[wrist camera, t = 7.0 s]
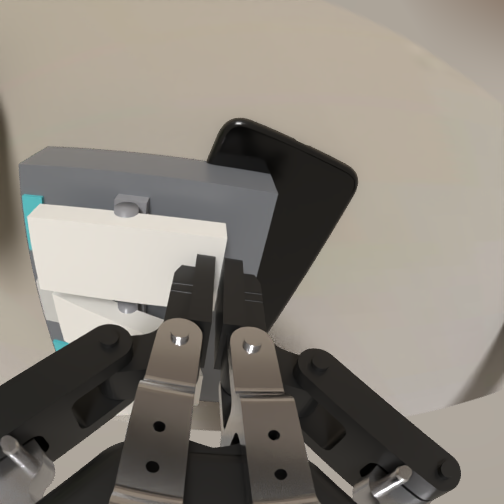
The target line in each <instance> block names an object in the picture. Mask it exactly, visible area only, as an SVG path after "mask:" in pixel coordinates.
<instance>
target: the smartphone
mask: <svg viewBox="0 0 504 504" xmlns="http://www.w3.org/2000/svg"><path fill="white" fill-rule="evenodd" d="M206 162H207V163H208V164H211V165H217V166H224V167H230V168H237V169H243V170H249V171H255V172H261V173H266V174H271V177H272V179H273V182H274V184H275V187H276V190H277V192H278V196H277V200H276V204H275V208H274V212H273V216H272V220H271V223H270V227H269V231H268V235H267V239H266V243H265V246H264V250H263V254H262V258H261V262H260V266H259V269H258V273H257V277H256V278H257V279H258V281H259V282H260V284H261V290H262V298H263V306H264V314H265V322H266V330H267V333H268V332H269V330H270V329H271V327H272V326H273V324H274V323H275V321H276V320H277V318H278V317H279V315H280V314H281V312H282V311H283V309H284V308H285V306H286V305H287V303H288V301H289V300H290V298H291V297H292V295H293V294H294V292H295V291H296V289H297V287H298V286H299V284H300V283H301V281H302V280H303V278H304V276H305V275H306V273H307V272H308V270H309V269H310V267H311V265H312V264H313V262H314V261H315V259H316V257H317V256H318V254H319V252H320V251H321V249H322V248H323V246H324V244H325V243H326V241H327V239H328V238H329V236H330V234H331V233H332V231H333V229H334V228H335V226H336V224H337V223H338V221H339V219H340V218H341V216H342V214H343V213H344V211H345V209H346V208H347V206H348V204H349V202H350V201H351V199H352V197H353V196H354V194H355V192H356V189H357V186H358V177H357V174H356V172H355V171H354V170H353V169H352V168H351V167H350V166H348V165H347V164H345V163H343V162H341V161H339V160H337V159H335V158H333V157H331V156H329V155H327V154H325V153H323V152H321V151H319V150H317V149H315V148H313V147H311V146H308V145H305V144H302V143H300V142H298V141H296V140H295V139H294V138H292V137H289V136H287V135H285V134H283V133H280V132H278V131H276V130H274V129H271V128H269V127H267V126H264V125H262V124H259V123H257V122H254V121H252V120H249V119H245V118H234V119H231V120H229V121H228V122H226V123H225V124H224V125H223V126H222V128H221V129H220V131H219V133H218V135H217V137H216V139H215V142H214V144H213V147H212V149H211V151H210V154H209V156H208V159H207V161H206Z"/></svg>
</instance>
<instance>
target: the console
mask: <svg viewBox="0 0 504 504" xmlns="http://www.w3.org/2000/svg"><path fill="white" fill-rule="evenodd" d="M19 178H20V190H21V200H22V208H23V216H24V224H25V230H26V237H27V242H28V248H29V254H30V259H31V264H32V268H33V273H34V278H35V282H36V286H37V290H38V294H39V298H40V302H41V306H42V309H43V313H44V316H45V320H46V323H47V327H48V330H49V333H50V336H51V339H52V342H53V345H54V348H55V351H58V350H59V349H61V348H63V347H64V346H66V345H68V344H69V343H67V342H65V341H64V338H63V335H62V331H61V328H60V324H59V320H58V316H57V312H56V308H55V304H54V300H53V295H52V293H53V292H54V291H49V290H43V289H40V285H39V281H38V276H37V272H36V267H35V262H34V257H33V251H32V246H31V240H30V233H29V227H28V219H27V216H28V215H29V214H30V213H31V212H32V211H33V210H34V209H35V208H36V207H37V206H38V205H39V204H49V205H60V206H71V207H82V208H92V209H102V210H112V211H114V206H115V205H116V204H118V203H121V202H132V203H135V204H137V205H138V206H139V213H141V214H150V215H160V216H169V217H177V218H186V219H195V220H203V221H211V222H220V223H226V230H227V243H226V248H225V253H224V258H230V259H237V260H243V272H244V274H252V275H255V276H256V277H257V273H258V269H259V266H260V262H261V258H262V254H263V250H264V246H265V243H266V239H267V235H268V231H269V227H270V223H271V220H272V216H273V212H274V208H275V204H276V200H277V196H278V192H277V190H276V187H275V184H274V182H273V179H272V177H271V174H266V173H261V172H255V171H249V170H243V169H237V168H230V167H224V166H217V165H211V164H208V163H207V162H206V161H201V160H194V159H187V158H179V157H171V156H163V155H154V154H145V153H135V152H125V151H113V150H101V149H87V148H70V147H49V146H48V147H46V148H44V149H43V150H41V151H39V152H37V153H36V154H34V155H32V156H31V157H29V158H28V159H26V160H24V161H23V162H21V163H20V164H19ZM216 298H217V297H216ZM113 301H115V302H118V301H116V300H113ZM166 308H167V307H166V306H157V305H148V304H139V303H138V311H141V312H144V313H147V314H149V315H152V316H155V317H158V318H160V319H163V320H164V318H165V313H166ZM215 315H216V302H215V308H214V311H212V325H211V330H210V336H209V342H208V348H207V354H206V359H205V365H204V368H200V369H201V371H202V374H203V380H202V386H201V392H200V398H199V401H210V402H219V383H220V379H221V370H218V369H214V342H215Z"/></svg>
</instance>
